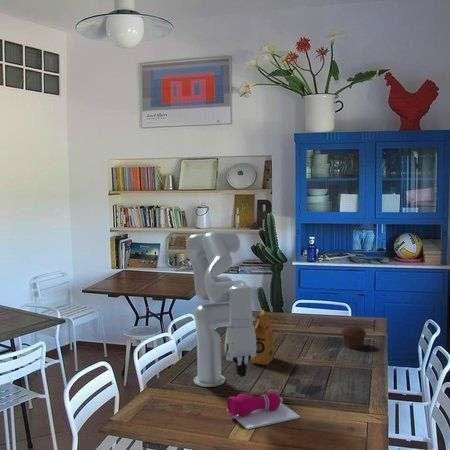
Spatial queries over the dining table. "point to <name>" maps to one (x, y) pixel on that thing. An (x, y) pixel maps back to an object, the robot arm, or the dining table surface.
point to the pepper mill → (252, 403)
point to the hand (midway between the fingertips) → (241, 375)
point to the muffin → (353, 336)
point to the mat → (266, 417)
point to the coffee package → (263, 340)
